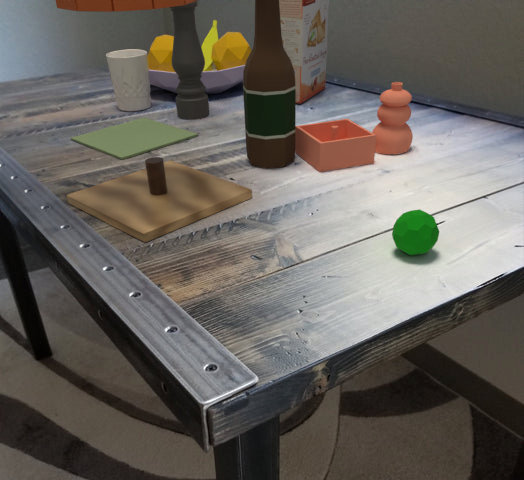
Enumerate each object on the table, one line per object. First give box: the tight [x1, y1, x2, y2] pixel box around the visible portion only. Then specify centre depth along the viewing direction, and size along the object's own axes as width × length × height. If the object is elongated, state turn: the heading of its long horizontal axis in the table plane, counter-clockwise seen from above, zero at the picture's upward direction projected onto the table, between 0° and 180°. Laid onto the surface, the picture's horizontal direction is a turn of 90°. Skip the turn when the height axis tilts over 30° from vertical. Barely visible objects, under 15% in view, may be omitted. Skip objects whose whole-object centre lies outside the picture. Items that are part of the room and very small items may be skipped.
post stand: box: [65, 156, 253, 243], centre depth 78 cm, size 18×18×6 cm
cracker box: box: [279, 0, 330, 105], centre depth 116 cm, size 14×6×21 cm, turn 154°
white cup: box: [105, 48, 152, 112], centre depth 116 cm, size 8×8×10 cm
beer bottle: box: [242, 0, 297, 170], centre depth 84 cm, size 8×8×24 cm
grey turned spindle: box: [168, 0, 210, 120], centre depth 105 cm, size 6×6×25 cm
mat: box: [70, 117, 199, 161], centre depth 102 cm, size 16×16×1 cm
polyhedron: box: [391, 208, 440, 257], centre depth 64 cm, size 5×5×5 cm
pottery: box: [295, 81, 414, 173], centre depth 89 cm, size 18×10×10 cm, turn 110°
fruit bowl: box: [147, 19, 252, 95], centre depth 128 cm, size 28×27×11 cm
